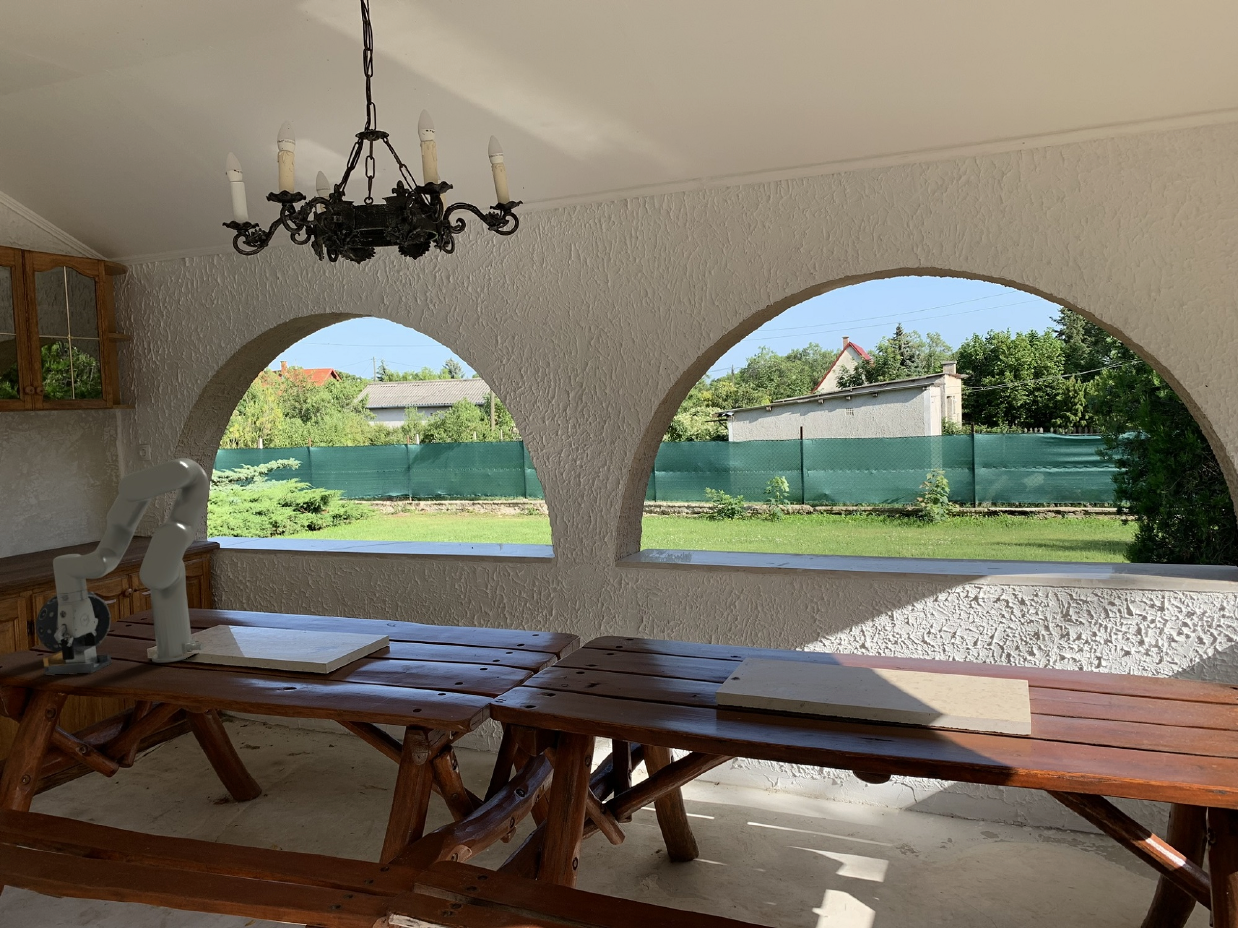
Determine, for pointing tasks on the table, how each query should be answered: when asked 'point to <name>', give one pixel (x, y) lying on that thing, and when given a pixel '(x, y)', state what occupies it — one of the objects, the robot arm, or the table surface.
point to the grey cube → (84, 655)
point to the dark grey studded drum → (49, 626)
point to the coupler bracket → (73, 664)
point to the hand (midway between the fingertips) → (80, 654)
